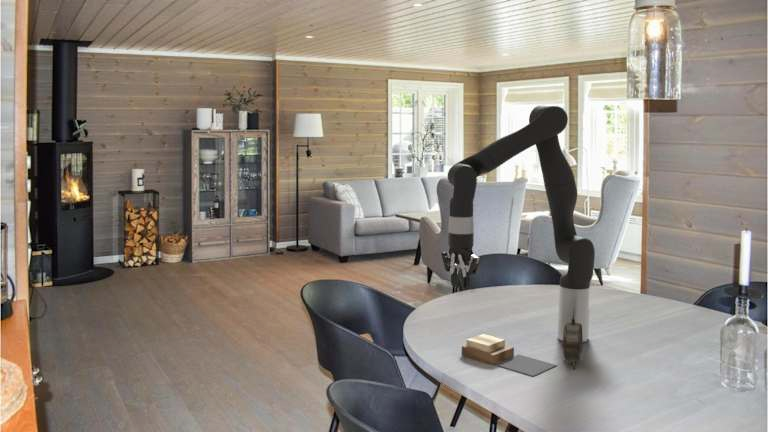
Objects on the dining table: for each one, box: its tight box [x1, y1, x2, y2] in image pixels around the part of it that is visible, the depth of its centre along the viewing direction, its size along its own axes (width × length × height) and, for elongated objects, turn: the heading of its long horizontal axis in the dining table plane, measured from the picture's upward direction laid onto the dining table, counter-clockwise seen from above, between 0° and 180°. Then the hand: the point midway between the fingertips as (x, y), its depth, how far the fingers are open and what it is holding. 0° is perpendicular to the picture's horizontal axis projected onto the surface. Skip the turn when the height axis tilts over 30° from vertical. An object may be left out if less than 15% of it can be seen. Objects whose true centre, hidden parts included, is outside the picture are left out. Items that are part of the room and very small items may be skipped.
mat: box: [493, 353, 558, 377], centre depth 199 cm, size 12×13×1 cm
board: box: [461, 343, 515, 366], centre depth 206 cm, size 10×12×3 cm
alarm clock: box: [561, 309, 584, 370], centre depth 199 cm, size 11×5×16 cm, turn 160°
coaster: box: [466, 333, 506, 352], centre depth 207 cm, size 8×8×2 cm
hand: (460, 287), depth 212 cm, fingers open, 3 cm apart
